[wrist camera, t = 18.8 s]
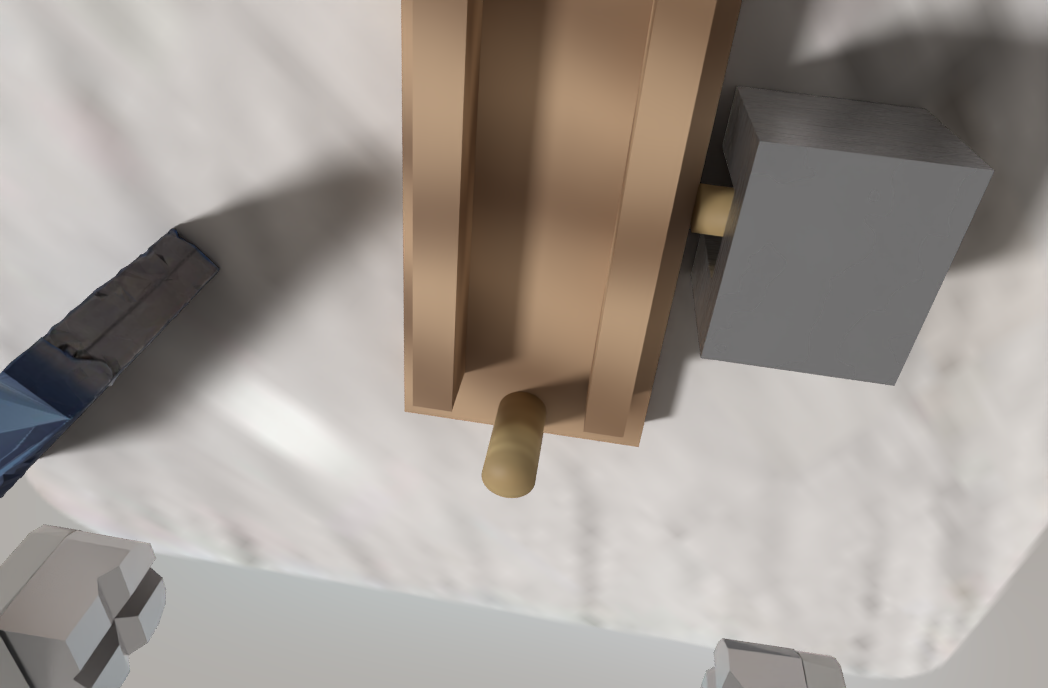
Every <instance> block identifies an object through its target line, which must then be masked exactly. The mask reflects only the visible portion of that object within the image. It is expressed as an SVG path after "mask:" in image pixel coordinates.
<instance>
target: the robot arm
mask: <svg viewBox="0 0 1048 688" xmlns="http://www.w3.org/2000/svg"><path fill="white" fill-rule="evenodd" d="M155 559H156V557H155V554H154V552H153V549H152V547H151V544H150V543H146V542H140V541H134V540H129V539H123V538H118V537H112V536H106V535H101V534H95V533H89V532H83V531H81V530H75V529H69V528H63V527H57V526H51V525H42V526H41V527H39V528H37V529H35V530H34V531H32V532H31V533H29V534H28V535H27V537H26V538H25V539H24V540H23V541H22V542H21V543H20V545H19V546H18V547H17V548H16V549H15V550H14V551H13V552H12V554H11V555H10V556H9V557H8V558H7V559H6V561H5V562H4V563H3V564H2V565H1V566H0V688H120V687H121V686H122V684H123V682H124V681H125V679H126V677H127V676H128V674H129V672H130V665H129V655H130V654H131V653H132V652H134V651H136V650H137V649H138V648H140V647H142V646H143V645H145V644H146V643H148V641H149V640H150V637H151V636H152V635H153V633H154V631H155V629H156V628H157V626H158V624H159V622H160V618H161V615H162V612H163V609H164V606H165V602H166V601H165V599H166V588H165V584H164V581H163V578H162V577H161V576H160V575H159V574H157V573H156V572H155V571H154V570H153V569H152V568H151V565H152V564H153V562H154V561H155ZM714 662H715V667H713V668H711V669H709V670H707V671H706V673H705V676H704V679H703V682H702V685H701V688H846V686H845V682H844V677H843V673H842V669H841V666H840V664H839V663H838V661H837V660H836V658H834V657H832V656H829V655H822V654H816V653H809V652H802V651H796V650H794V649H790V648H784V647H777V646H770V645H764V644H757V643H750V642H744V641H737V640H730V639H724V638H723V639H721V640H720V641H719V642H718V644H717V646H716V648H715V651H714Z"/></svg>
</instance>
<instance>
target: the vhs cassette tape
mask: <svg viewBox="0 0 1048 688" xmlns="http://www.w3.org/2000/svg"><path fill="white" fill-rule="evenodd" d="M218 271H219V268H218V267H217V266H216V265H215V264H214V263H212V262H211V261H210V259H209V258H207V257H206V256H205V255H204V254H203V253H202V252H201V251H200V250H199V249H198V248H197V247H196V246H195V245H193V244H190V243H188V242H186V241H185V240H184V239H183V238H181V237H178V233H177V231H176V230H175V229H170V230H169V232H168V233H167V234H165V235H164V236H163V237H161V238H160V239H159V240H158V241H157V242H156V243H154V244H153V245H152V246H151V247H149V248H148V250H147V252H145V253H144V254H141V255H140V256H139V257H138V258H137V259H136V260H134V261H133V262H132V263H131V264H129V265H128V266H126V267H125V268H123V269H121V270H120V271H119V272H118V274H117V275H116V276H115V277H114V278H112V279H111V280H109V281H108V282H106V283H105V284H104V285H102V286H100V287H99V288H97V289H96V290H95V291H93V293H92V294H91V295H89V296H88V297H87V298H86V299H85V300H84V301H83V302H82V303H81V304H80V305H79V306H77V307H76V308H74V309H73V310H72V311H70V312H69V313H68V314H67V316H66V317H65V318H64V319H63V320H62V321H61V322H59V323H58V324H56V325H54V326H53V327H52V328H51V329H50V330H49V332H48V333H47V334H46V335H45V336H44V337H43V338H42V337H41V338H40V339H39V340H38V341H37V342H36V343H35V344H33V345H32V346H31V347H30V348H29V349H27V350H26V351H25V352H23V353H22V354H21V355H19V356H18V357H17V358H16V359H14V360H13V361H12V362H11V363H10V364H9V365H8V366H7V367H6V368H5V369H4V370H3V371H2V372H1V373H0V498H2V497H3V496H4V494H5V493H6V492H7V491H8V490H9V489H10V488H11V487H12V486H13V485H14V484H15V483H16V482H17V480H18V479H19V478H21V477H22V476H23V475H24V474H25V472H26V471H27V470H28V469H29V468H30V467H31V466H32V465H33V464H34V463H35V462H36V461H37V460H38V459H39V458H40V456H41V455H42V454H43V453H44V452H45V451H46V450H47V449H48V448H49V447H50V446H51V445H52V444H53V443H54V442H55V441H56V440H57V439H58V438H59V437H60V436H61V435H62V434H63V433H64V431H66V430H67V429H68V428H69V427H70V425H71V424H72V423H73V422H74V421H75V420H76V419H77V418H78V417H79V416H81V414H82V413H83V412H84V411H85V410H86V409H87V408H88V407H89V406H90V405H91V404H92V403H93V402H94V401H95V400H96V398H98V397H99V396H100V395H101V394H102V393H103V392H104V391H105V390H106V388H107V387H108V386H112V385H113V383H114V381H115V380H116V378H117V377H118V376H119V375H120V374H121V372H122V371H124V370H125V369H126V368H127V367H128V366H129V364H130V363H131V362H132V361H133V360H134V359H135V358H136V357H137V356H138V355H139V354H140V353H141V352H142V351H143V350H144V349H145V348H146V347H147V346H148V345H149V344H150V343H151V342H152V341H153V340H154V339H155V338H156V337H157V336H158V335H159V333H160V332H161V331H162V330H163V329H164V328H165V327H166V326H167V325H168V323H169V322H170V321H171V320H172V319H174V318H175V317H176V316H177V315H178V313H179V312H180V311H181V310H182V309H183V308H184V307H185V306H186V305H188V303H189V301H190V300H191V299H192V298H193V297H195V295H196V294H197V293H198V292H199V291H200V290H201V289H202V288H203V287H204V285H205V284H206V283H208V282H209V281H210V280H211V279H212V278H213V277H214V276H215V275H216V274H217V273H218Z"/></svg>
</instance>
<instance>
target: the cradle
mask: <svg viewBox="0 0 1048 688" xmlns="http://www.w3.org/2000/svg"><path fill="white" fill-rule="evenodd" d="M741 3H742V0H401V28H402V148H403V269H404V389H405V412H411V413H418V414H425V415H431V416H438V417H444V418H451V419H457V420H464V421H471V422H477V423H484V424H490V425H494V427H493V431H492V435H491V439H490V443H489V447H488V451H487V454H486V458H485V462H484V466H483V470H482V480H483V483H484V485H485V486H486V487H487V488H488V489H489V490H490V491H491V492H493V493H495V494H496V495H499V496H502V497H506V498H517V497H522V496H524V495H526V494H528V493H529V492H530V491H531V490H532V489H533V487H534V485H535V480H536V474H537V468H538V462H539V456H540V450H541V444H542V438H543V433H550V434H556V435H563V436H570V437H576V438H583V439H589V440H596V441H603V442H609V443H616V444H622V445H629V446H636V447H639V443H640V439H641V434H642V430H643V426H644V421H645V417H646V413H647V408H648V404H649V400H650V396H651V391H652V387H653V383H654V378H655V374H656V370H657V365H658V361H659V357H660V352H661V348H662V344H663V339H664V335H665V331H666V327H667V322H668V318H669V314H670V309H671V305H672V301H673V296H674V292H675V288H676V283H677V279H678V275H679V270H680V266H681V262H682V258H683V253H684V249H685V245H686V240H687V236H688V232H689V227H690V223H691V232H692V233H699V234H707V235H714V236H722V237H723V234H724V230H725V226H726V222H727V219H728V215H729V211H730V207H731V203H732V199H733V196H734V192H735V190H734V188H732V187H724V186H717V185H709V184H701V183H700V180H701V176H702V171H703V167H704V163H705V158H706V154H707V150H708V145H709V141H710V137H711V133H712V128H713V124H714V120H715V115H716V111H717V107H718V102H719V98H720V94H721V89H722V85H723V81H724V76H725V72H726V68H727V64H728V59H729V55H730V51H731V46H732V42H733V38H734V33H735V29H736V25H737V20H738V16H739V12H740V8H741Z"/></svg>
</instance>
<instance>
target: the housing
mask: <svg viewBox="0 0 1048 688" xmlns="http://www.w3.org/2000/svg"><path fill="white" fill-rule="evenodd" d="M722 148H723V151H724V155H725V158H726V162H727V165H728V169H729V173H730V176H731V180H732V183H733V187H734V190H735V192H734V196H733V199H732V203H731V207H730V211H729V215H728V219H727V222H726V226H725V230H724V234H723V237H722V236H714V235H707V234H701V235H700V239H699V244H698V248H697V252H696V256H695V260H694V264H693V268H692V272H691V281H692V289H693V298H694V306H695V314H696V322H697V331H698V339H699V347H700V355H701V358H705V359H712V360H719V361H726V362H733V363H740V364H747V365H754V366H760V367H767V368H774V369H781V370H788V371H795V372H802V373H809V374H816V375H823V376H830V377H837V378H844V379H851V380H858V381H865V382H872V383H879V384H886V385H893V386H894V385H895V383H896V381H897V379H898V377H899V375H900V373H901V370H902V368H903V366H904V364H905V362H906V360H907V358H908V355H909V353H910V351H911V349H912V347H913V345H914V342H915V340H916V338H917V336H918V334H919V332H920V330H921V327H922V325H923V323H924V321H925V319H926V317H927V315H928V312H929V310H930V308H931V306H932V304H933V302H934V300H935V297H936V295H937V293H938V291H939V289H940V287H941V285H942V282H943V280H944V278H945V276H946V274H947V272H948V269H949V267H950V265H951V263H952V261H953V259H954V257H955V254H956V252H957V250H958V248H959V246H960V244H961V242H962V239H963V237H964V235H965V233H966V231H967V229H968V227H969V224H970V222H971V220H972V218H973V216H974V214H975V212H976V209H977V207H978V205H979V203H980V201H981V199H982V196H983V194H984V192H985V190H986V188H987V186H988V184H989V181H990V179H991V177H992V175H993V173H994V170H993V169H992V168H991V167H990V166H989V165H988V164H987V163H986V162H984V161H983V160H982V159H981V158H980V157H979V156H978V155H977V154H976V153H974V152H973V151H972V150H971V149H970V148H969V147H968V146H967V145H965V144H964V143H963V142H962V141H961V140H960V139H959V138H958V137H957V136H955V135H954V134H953V133H952V132H951V131H950V130H949V129H948V128H947V127H945V126H944V125H943V124H942V123H941V122H940V121H939V120H938V119H936V118H935V117H934V116H933V115H932V114H931V113H930V112H929V111H928V110H926V109H921V108H913V107H905V106H897V105H888V104H880V103H872V102H864V101H855V100H847V99H839V98H831V97H822V96H814V95H806V94H798V93H789V92H781V91H773V90H765V89H756V88H748V87H740V86H737V87H736V91H735V95H734V99H733V104H732V108H731V112H730V116H729V120H728V124H727V128H726V132H725V137H724V141H723V145H722Z"/></svg>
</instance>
